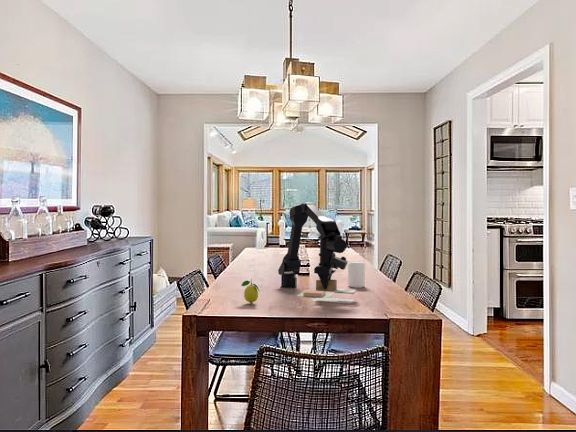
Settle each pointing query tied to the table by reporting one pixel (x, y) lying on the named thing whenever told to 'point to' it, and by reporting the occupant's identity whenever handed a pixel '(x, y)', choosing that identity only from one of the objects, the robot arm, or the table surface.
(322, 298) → the tool pad
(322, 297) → the felt mat
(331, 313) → the table surface
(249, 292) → the lemon
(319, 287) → the turner
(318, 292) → the tile
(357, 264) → the grey cylinder
